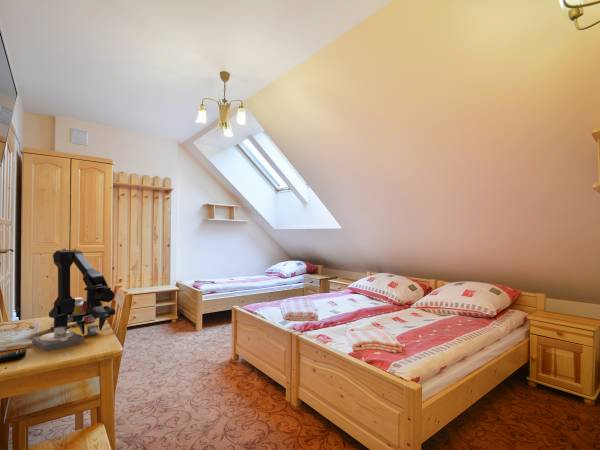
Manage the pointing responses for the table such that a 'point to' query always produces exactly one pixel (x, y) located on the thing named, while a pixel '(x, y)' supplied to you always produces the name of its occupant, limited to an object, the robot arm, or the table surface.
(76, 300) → the pill bottle
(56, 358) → the table surface
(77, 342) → the scale
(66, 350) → the table surface
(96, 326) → the cylinder
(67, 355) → the table surface
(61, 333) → the cylinder
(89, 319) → the soda can
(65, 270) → the robot arm
